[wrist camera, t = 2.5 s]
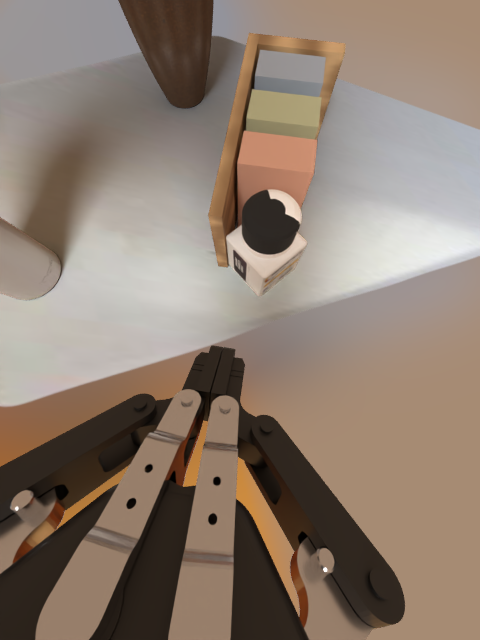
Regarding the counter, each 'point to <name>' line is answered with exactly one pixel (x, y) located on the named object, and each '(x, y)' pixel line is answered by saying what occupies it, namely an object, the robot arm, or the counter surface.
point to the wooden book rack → (227, 179)
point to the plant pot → (174, 44)
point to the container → (266, 240)
